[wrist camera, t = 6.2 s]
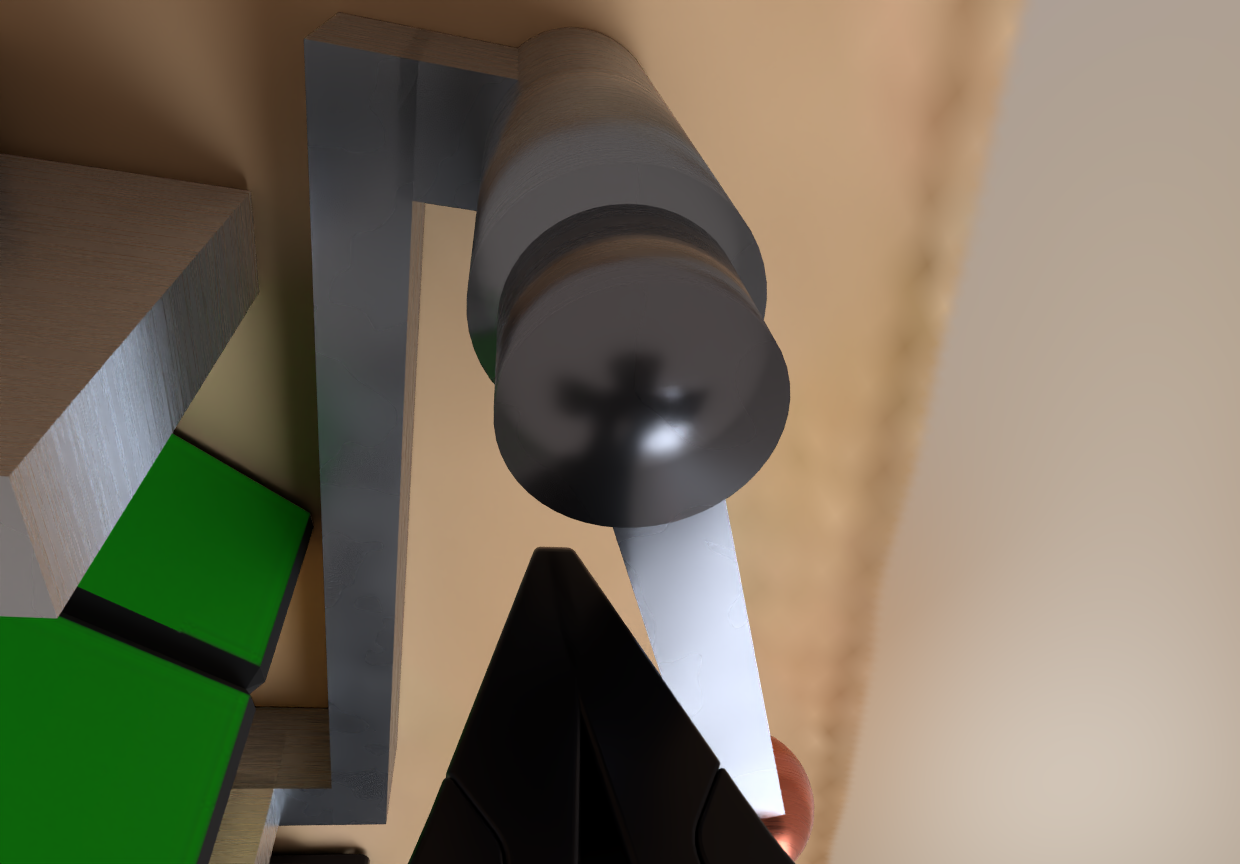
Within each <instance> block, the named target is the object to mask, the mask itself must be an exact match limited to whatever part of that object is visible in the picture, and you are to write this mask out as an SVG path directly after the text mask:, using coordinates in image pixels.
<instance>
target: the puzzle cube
mask: <svg viewBox="0 0 1240 864" xmlns="http://www.w3.org/2000/svg"><path fill="white" fill-rule="evenodd" d="M313 528H314V526H313V522H312V518H311V514H310V513H309V512H307V511H306V510H304V509H302V508H300V507H299V506H297V505H295V504H293V503H292V502H290V501H288V500H287V499H285V498H283V497H281V496H280V495H278V494H276V493H274V492H273V491H271V490H269V489H268V488H266V487H264V486H262V485H261V484H259V483H257V482H256V481H254V480H252V479H250V478H249V477H247V476H245V475H243V474H242V473H240V472H238V471H237V470H235V469H233V468H231V467H230V466H228V465H226V464H224V463H223V462H221V461H219V460H218V459H216V458H214V457H212V456H211V455H209V454H207V453H206V452H204V451H202V450H200V449H199V448H197V447H195V446H193V445H192V444H190V443H188V442H187V441H185V440H183V439H181V438H180V437H178V436H176V435H174V434H173V433H172V434H171V436H170V437H169V439H168V440H167V442H166V444H165V445H164V447H163V449H162V450H161V452H160V453H159V455H158V457H157V458H156V460H155V461H154V463H153V465H152V466H151V468H150V470H149V471H148V473H147V474H146V476H145V478H144V479H143V481H142V482H141V484H140V486H139V487H138V489H137V491H136V492H135V494H134V495H133V497H132V499H131V500H130V502H129V503H128V505H127V507H126V508H125V510H124V512H123V513H122V515H121V516H120V518H119V520H118V521H117V523H116V524H115V526H114V528H113V529H112V531H111V532H110V534H109V536H108V537H107V539H106V541H105V542H104V544H103V545H102V547H101V549H100V550H99V552H98V553H97V555H96V557H95V558H94V560H93V562H92V563H91V565H90V566H89V568H88V570H87V571H86V573H85V574H84V576H83V578H82V579H81V581H80V583H79V584H78V586H77V587H76V589H75V591H74V592H73V594H72V595H71V597H70V599H69V600H68V602H67V604H66V605H65V607H64V608H63V610H62V612H61V613H60V615H59V616H58V618H34V617H8V616H0V864H209V861H210V857H211V854H212V851H213V848H214V844H215V841H216V838H217V835H218V831H219V828H220V825H221V822H222V818H223V815H224V812H225V809H226V805H227V802H228V799H229V796H230V792H231V789H232V786H233V782H234V779H235V776H236V773H237V769H238V766H239V763H240V760H241V756H242V753H243V750H244V747H245V743H246V740H247V737H248V734H249V730H250V727H251V724H252V721H253V717H254V714H255V711H256V709H255V706H254V703H253V701H252V698H251V696H250V693H251V692H253V691H254V690H255V689H256V688H258V687H259V686H260V685H261V684H263V683H264V682H265V680H266V677H267V674H268V671H269V668H270V664H271V661H272V658H273V655H274V652H275V649H276V645H277V642H278V639H279V636H280V633H281V629H282V626H283V623H284V620H285V617H286V614H287V610H288V607H289V604H290V601H291V598H292V595H293V591H294V588H295V585H296V582H297V579H298V575H299V572H300V569H301V566H302V563H303V560H304V556H305V553H306V550H307V547H308V544H309V540H310V537H311V534H312V531H313Z"/></svg>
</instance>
